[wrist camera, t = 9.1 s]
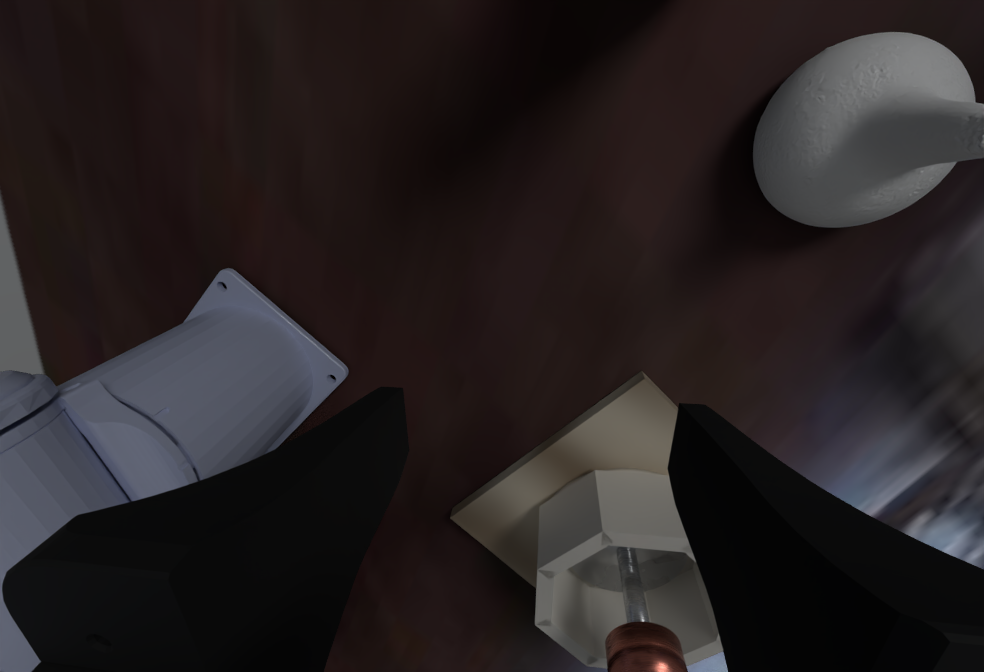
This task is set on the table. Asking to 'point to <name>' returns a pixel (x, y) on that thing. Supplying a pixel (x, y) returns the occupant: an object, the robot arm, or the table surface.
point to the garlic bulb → (866, 130)
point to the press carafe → (627, 523)
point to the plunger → (637, 606)
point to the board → (569, 469)
